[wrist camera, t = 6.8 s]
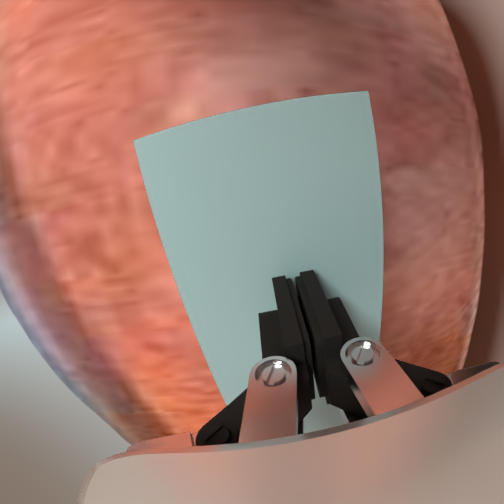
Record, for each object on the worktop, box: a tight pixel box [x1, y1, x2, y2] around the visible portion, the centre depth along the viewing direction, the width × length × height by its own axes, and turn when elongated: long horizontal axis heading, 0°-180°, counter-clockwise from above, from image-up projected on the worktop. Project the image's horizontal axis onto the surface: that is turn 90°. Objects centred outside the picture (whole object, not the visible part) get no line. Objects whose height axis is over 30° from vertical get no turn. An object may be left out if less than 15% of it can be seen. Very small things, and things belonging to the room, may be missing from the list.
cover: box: [134, 91, 384, 433], centre depth 14 cm, size 24×9×1 cm, turn 11°
